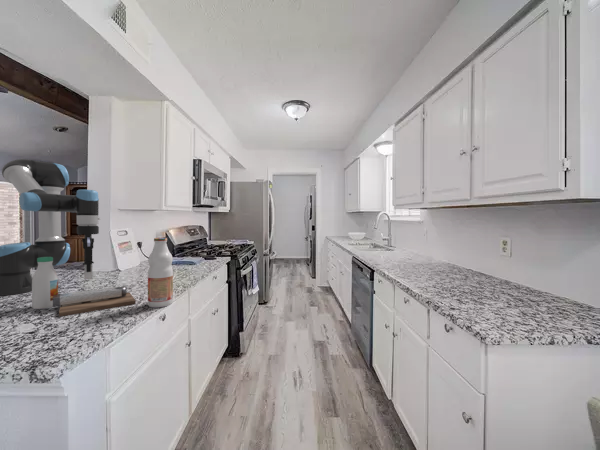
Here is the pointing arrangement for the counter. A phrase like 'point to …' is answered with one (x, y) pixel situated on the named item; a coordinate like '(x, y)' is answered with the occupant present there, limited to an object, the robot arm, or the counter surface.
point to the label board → (96, 305)
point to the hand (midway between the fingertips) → (88, 278)
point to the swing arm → (88, 295)
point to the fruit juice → (160, 275)
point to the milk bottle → (44, 284)
